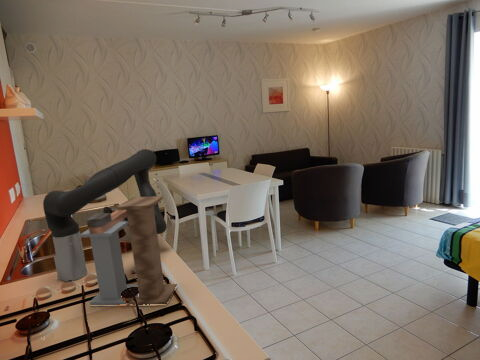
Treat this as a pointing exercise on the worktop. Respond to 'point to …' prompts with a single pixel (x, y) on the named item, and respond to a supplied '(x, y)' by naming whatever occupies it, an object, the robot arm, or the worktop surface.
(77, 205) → the robot arm
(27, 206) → the worktop surface
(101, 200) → the mug
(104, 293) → the blue-grey pedestal
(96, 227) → the grey and brown bar
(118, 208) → the cat scratching post
